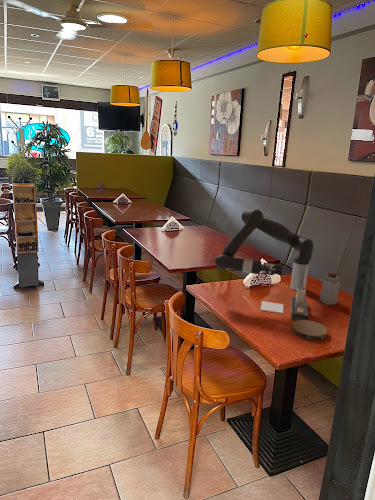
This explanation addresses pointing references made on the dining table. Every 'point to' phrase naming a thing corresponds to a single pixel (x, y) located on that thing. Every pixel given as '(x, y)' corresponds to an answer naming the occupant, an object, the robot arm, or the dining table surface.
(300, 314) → the hand plane
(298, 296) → the lever cap
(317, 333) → the brown round disc
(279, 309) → the rubber mat
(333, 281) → the perfume bottle
